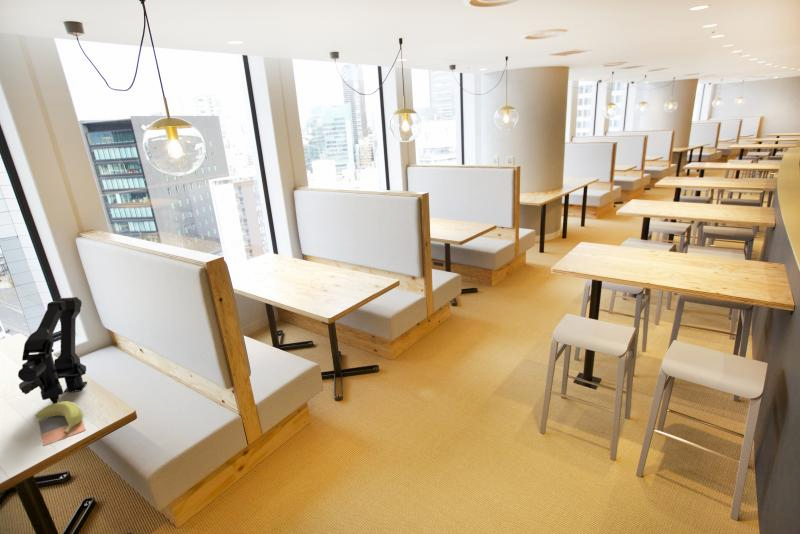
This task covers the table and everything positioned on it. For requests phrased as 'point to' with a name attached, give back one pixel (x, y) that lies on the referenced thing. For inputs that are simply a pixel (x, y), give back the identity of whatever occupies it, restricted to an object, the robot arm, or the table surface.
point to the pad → (61, 433)
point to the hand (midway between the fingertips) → (55, 403)
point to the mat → (52, 423)
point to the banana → (63, 413)
